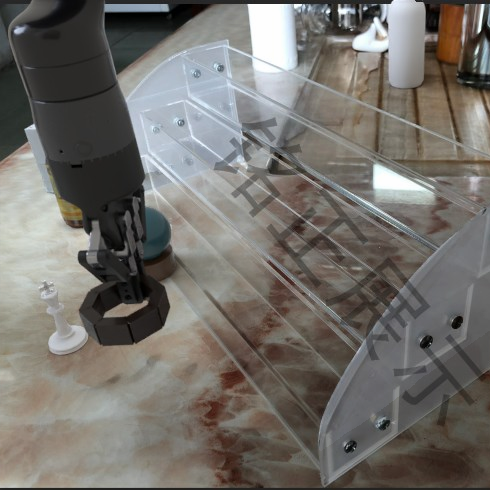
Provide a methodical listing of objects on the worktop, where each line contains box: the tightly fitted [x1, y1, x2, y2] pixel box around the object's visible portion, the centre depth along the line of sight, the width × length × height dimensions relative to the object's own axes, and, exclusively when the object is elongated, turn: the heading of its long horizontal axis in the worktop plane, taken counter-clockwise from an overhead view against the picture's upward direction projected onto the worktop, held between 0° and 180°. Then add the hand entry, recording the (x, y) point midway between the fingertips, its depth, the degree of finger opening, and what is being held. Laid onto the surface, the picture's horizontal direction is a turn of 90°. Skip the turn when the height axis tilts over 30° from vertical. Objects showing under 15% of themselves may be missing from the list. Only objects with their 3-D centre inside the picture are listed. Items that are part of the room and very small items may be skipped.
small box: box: [24, 123, 55, 194], centre depth 112 cm, size 8×6×13 cm
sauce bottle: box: [45, 158, 83, 228], centre depth 99 cm, size 6×6×20 cm
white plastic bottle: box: [387, 0, 427, 90], centre depth 142 cm, size 9×9×30 cm
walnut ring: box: [78, 274, 171, 347], centre depth 57 cm, size 8×8×2 cm
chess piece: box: [37, 279, 89, 356], centre depth 75 cm, size 5×5×10 cm
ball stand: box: [142, 205, 177, 282], centre depth 87 cm, size 8×8×10 cm
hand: (136, 295), depth 60 cm, fingers closed on walnut ring, 1 cm apart
